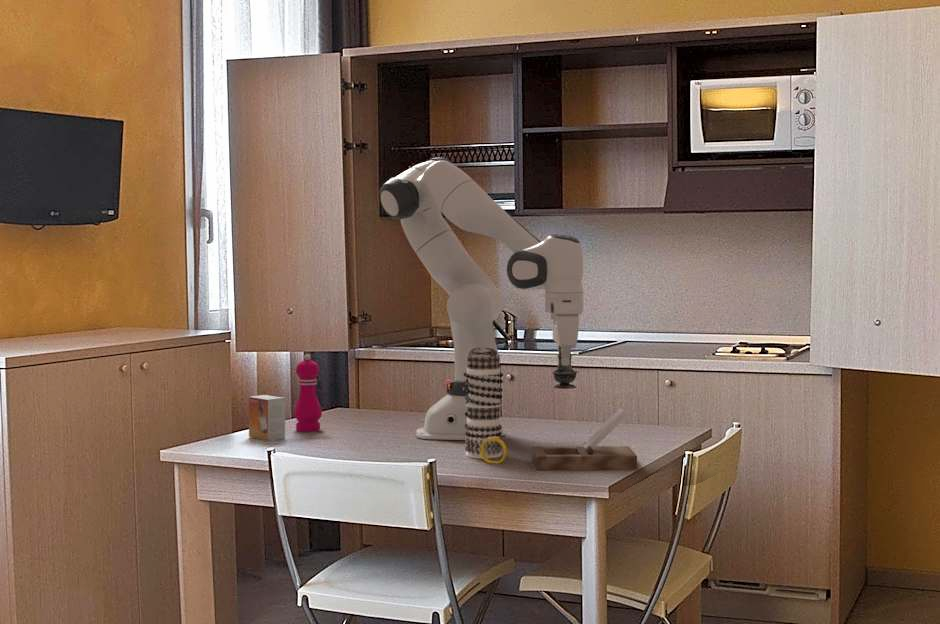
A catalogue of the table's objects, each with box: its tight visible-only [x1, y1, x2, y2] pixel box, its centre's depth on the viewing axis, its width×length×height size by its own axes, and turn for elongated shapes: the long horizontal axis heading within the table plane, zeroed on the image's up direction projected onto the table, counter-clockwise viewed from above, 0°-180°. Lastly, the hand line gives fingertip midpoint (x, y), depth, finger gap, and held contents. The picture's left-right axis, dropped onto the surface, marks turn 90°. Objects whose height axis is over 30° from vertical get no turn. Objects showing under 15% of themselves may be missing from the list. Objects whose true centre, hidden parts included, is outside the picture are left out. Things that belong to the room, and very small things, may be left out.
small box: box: [248, 394, 286, 442], centre depth 305 cm, size 8×6×10 cm
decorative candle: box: [464, 348, 504, 460], centre depth 281 cm, size 9×9×25 cm
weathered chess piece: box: [551, 346, 578, 390], centre depth 281 cm, size 6×6×12 cm
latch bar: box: [582, 407, 628, 450], centre depth 269 cm, size 12×5×1 cm
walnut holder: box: [532, 441, 638, 471], centre depth 270 cm, size 22×12×4 cm, turn 91°
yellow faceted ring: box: [481, 436, 508, 464], centre depth 272 cm, size 6×3×6 cm, turn 66°
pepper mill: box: [293, 353, 323, 433], centre depth 317 cm, size 7×7×20 cm
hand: (564, 364), depth 281 cm, fingers closed on weathered chess piece, 3 cm apart
